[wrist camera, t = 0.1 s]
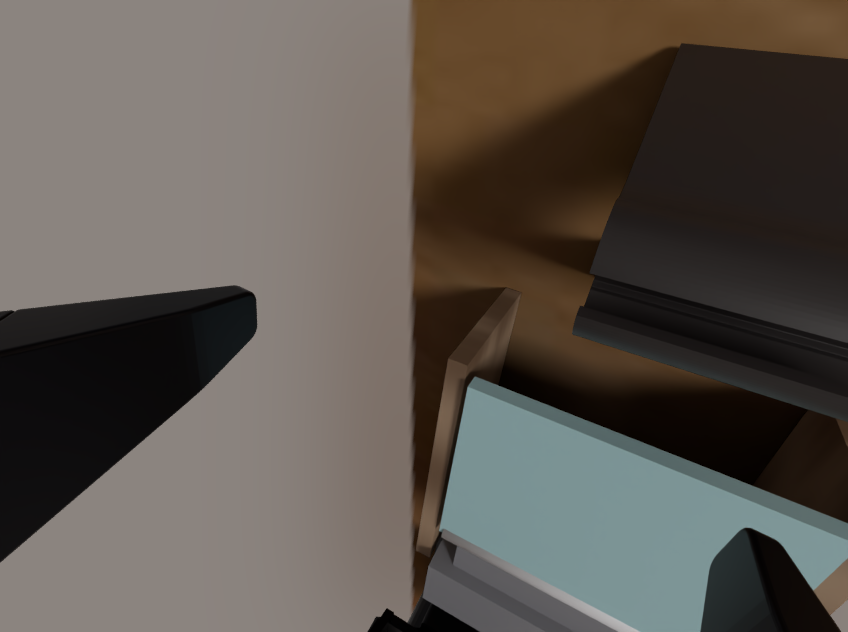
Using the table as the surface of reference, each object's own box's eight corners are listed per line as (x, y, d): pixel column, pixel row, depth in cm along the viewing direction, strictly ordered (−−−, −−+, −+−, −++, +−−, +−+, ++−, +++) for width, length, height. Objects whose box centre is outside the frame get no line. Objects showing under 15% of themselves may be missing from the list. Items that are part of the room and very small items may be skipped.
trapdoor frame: (710, 572, 25) (715, 717, 19) (466, 459, 30) (415, 550, 24) (847, 395, 18) (914, 539, 13) (506, 287, 23) (448, 358, 18)
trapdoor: (671, 671, 22) (668, 743, 20) (446, 549, 26) (422, 597, 24) (841, 484, 15) (867, 566, 12) (489, 354, 19) (460, 396, 17)
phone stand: (682, 42, 16) (668, 14, 7) (897, 64, 14) (1331, 69, 4) (603, 276, 21) (530, 455, 11) (756, 318, 19) (823, 581, 9)
